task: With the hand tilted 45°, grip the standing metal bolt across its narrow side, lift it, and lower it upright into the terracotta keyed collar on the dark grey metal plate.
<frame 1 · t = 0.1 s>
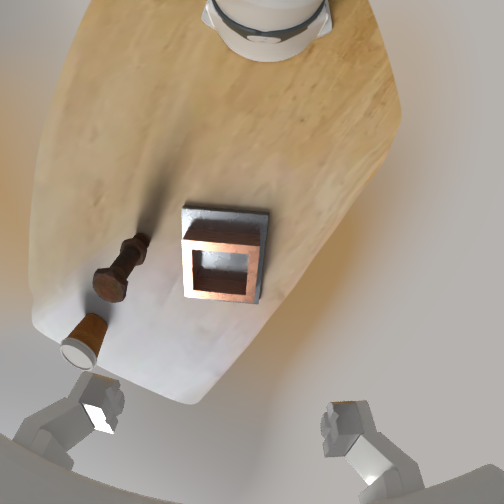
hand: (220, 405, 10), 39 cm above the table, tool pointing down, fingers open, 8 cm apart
disposable coffee cup: (96, 322, 63), on the table
socket: (223, 256, 52), on the table
bolt: (142, 239, 51), on the table
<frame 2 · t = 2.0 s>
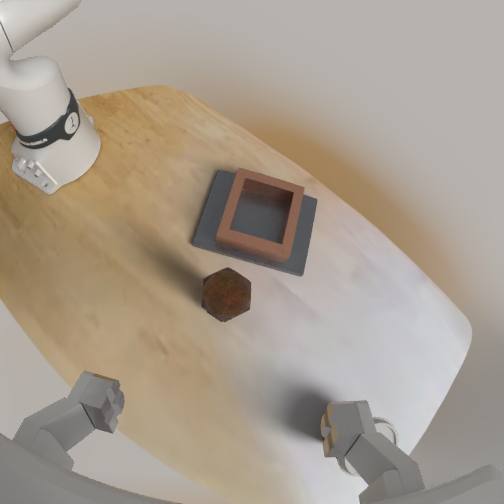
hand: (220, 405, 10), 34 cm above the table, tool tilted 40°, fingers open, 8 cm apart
disposable coffee cup: (338, 428, 41), on the table
socket: (257, 222, 49), on the table
bolt: (221, 306, 45), on the table
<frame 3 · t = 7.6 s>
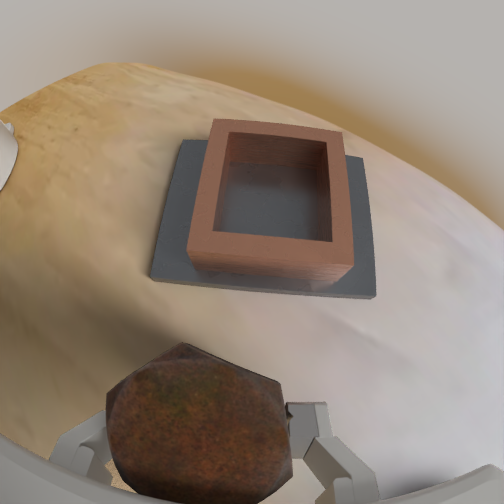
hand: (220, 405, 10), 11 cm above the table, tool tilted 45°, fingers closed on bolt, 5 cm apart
socket: (269, 213, 26), on the table
bolt: (230, 391, 20), on the table, touching gripper
when the fingers open (13 cm above the table, at t = 13.9 s): bolt stays where it is, resting on socket.
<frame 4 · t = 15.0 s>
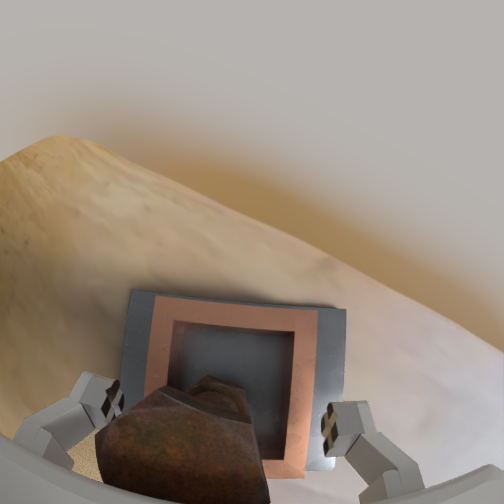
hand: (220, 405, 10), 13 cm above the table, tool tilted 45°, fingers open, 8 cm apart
socket: (230, 387, 22), on the table
bolt: (220, 400, 21), point 1 cm above the table, touching socket
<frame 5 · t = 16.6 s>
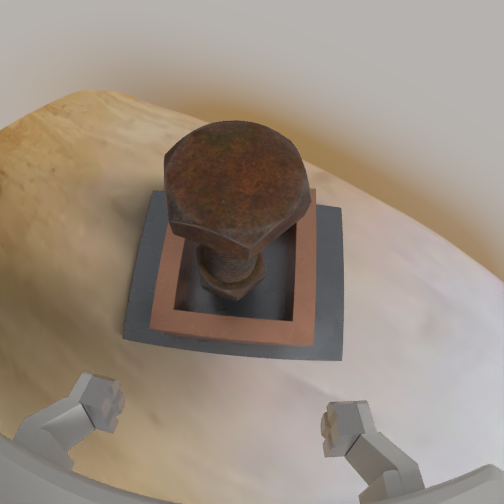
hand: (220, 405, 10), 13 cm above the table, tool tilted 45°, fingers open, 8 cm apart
socket: (238, 273, 26), on the table
bolt: (229, 281, 24), point 1 cm above the table, touching socket
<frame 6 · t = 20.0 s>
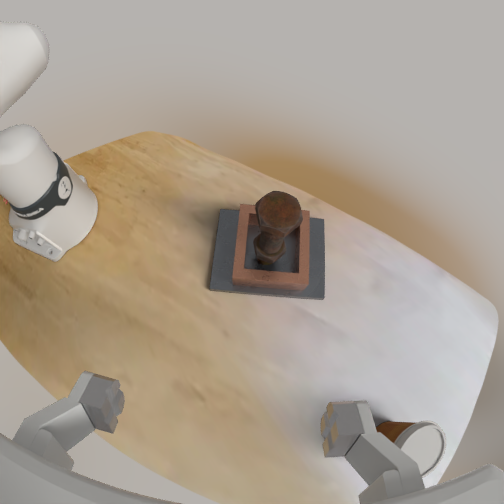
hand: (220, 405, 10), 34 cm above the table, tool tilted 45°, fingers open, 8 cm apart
disposable coffee cup: (384, 438, 38), on the table
socket: (269, 254, 49), on the table
bolt: (266, 258, 48), point 1 cm above the table, touching socket
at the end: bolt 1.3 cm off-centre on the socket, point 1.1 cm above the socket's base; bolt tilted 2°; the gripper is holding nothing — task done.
